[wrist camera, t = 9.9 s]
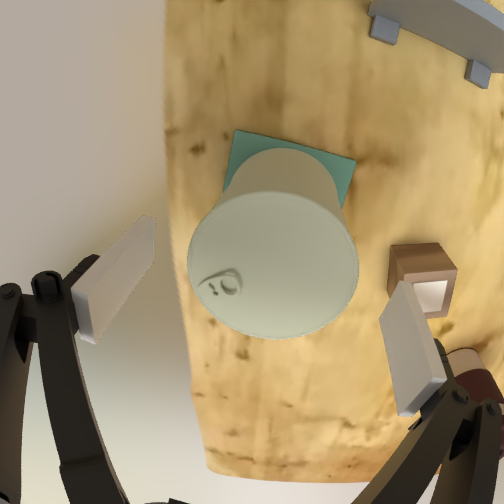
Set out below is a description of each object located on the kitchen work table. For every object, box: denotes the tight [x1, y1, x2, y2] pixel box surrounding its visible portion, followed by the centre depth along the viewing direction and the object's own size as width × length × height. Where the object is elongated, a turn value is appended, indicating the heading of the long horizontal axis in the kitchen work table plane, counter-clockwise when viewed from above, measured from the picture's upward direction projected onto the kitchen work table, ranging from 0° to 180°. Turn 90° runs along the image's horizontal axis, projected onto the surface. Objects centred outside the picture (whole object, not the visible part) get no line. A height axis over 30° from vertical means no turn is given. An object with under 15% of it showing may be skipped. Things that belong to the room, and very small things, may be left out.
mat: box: [223, 129, 356, 209], centre depth 27 cm, size 10×10×1 cm
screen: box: [368, 0, 504, 89], centre depth 14 cm, size 5×12×10 cm, turn 78°
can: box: [187, 148, 359, 340], centre depth 21 cm, size 9×9×12 cm
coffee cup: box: [441, 349, 504, 465], centre depth 28 cm, size 10×10×15 cm
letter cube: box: [387, 243, 458, 319], centre depth 26 cm, size 5×5×5 cm
